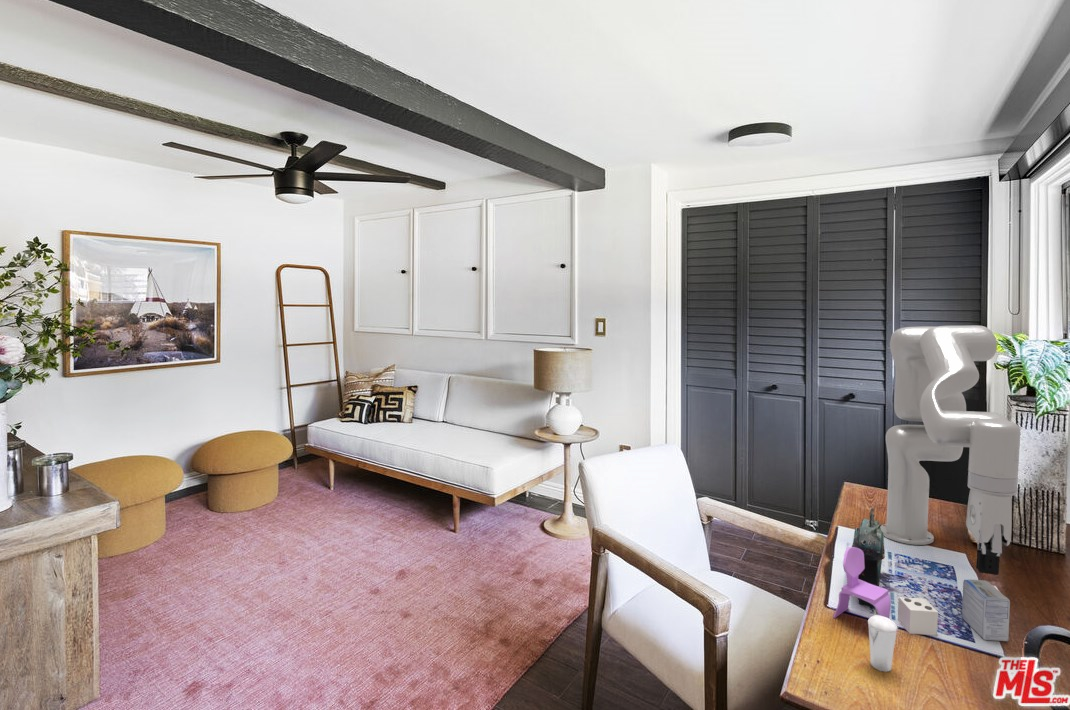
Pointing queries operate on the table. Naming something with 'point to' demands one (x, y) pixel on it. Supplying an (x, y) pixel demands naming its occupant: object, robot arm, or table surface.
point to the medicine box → (986, 610)
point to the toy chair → (861, 586)
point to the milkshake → (881, 642)
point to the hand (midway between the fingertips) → (987, 571)
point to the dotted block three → (917, 616)
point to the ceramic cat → (870, 551)
